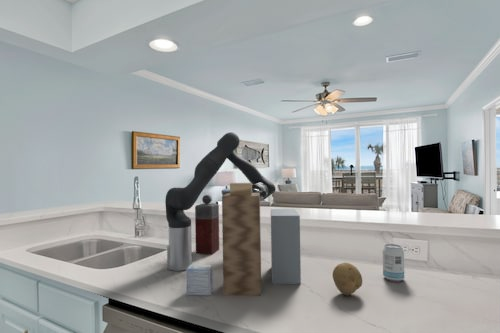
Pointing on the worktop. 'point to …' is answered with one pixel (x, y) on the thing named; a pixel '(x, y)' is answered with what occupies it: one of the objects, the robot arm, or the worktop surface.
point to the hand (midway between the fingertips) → (245, 194)
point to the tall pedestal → (241, 244)
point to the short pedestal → (285, 246)
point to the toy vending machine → (207, 226)
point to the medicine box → (199, 279)
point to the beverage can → (393, 262)
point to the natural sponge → (347, 278)
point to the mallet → (240, 189)
